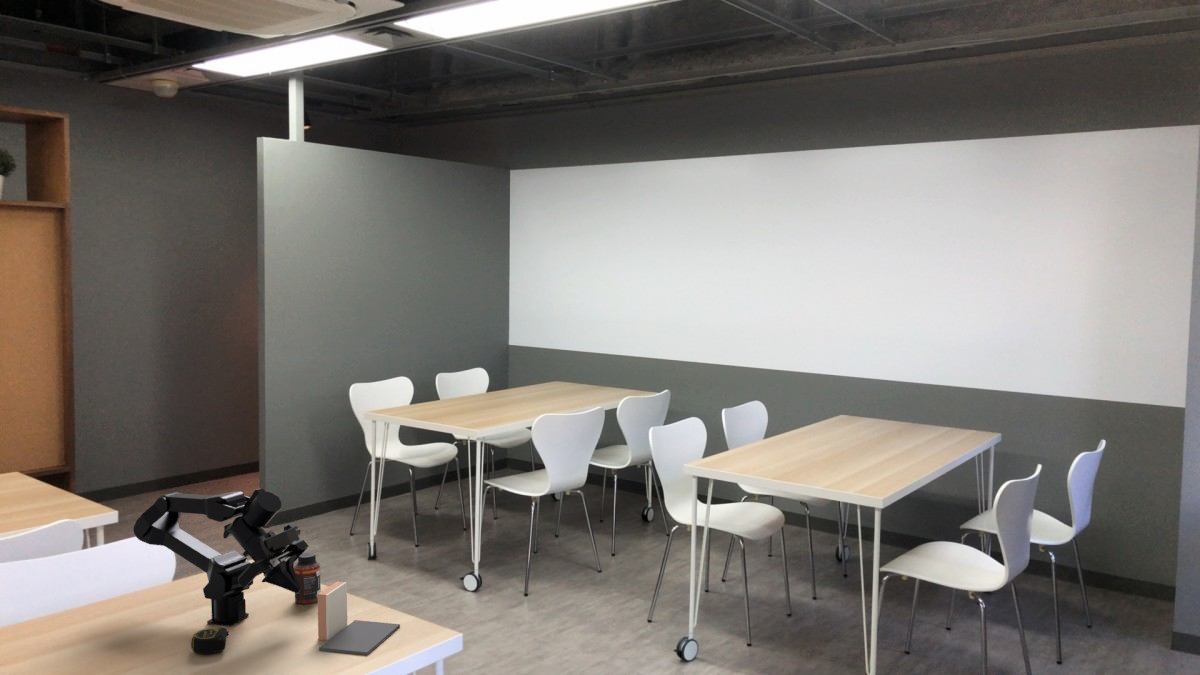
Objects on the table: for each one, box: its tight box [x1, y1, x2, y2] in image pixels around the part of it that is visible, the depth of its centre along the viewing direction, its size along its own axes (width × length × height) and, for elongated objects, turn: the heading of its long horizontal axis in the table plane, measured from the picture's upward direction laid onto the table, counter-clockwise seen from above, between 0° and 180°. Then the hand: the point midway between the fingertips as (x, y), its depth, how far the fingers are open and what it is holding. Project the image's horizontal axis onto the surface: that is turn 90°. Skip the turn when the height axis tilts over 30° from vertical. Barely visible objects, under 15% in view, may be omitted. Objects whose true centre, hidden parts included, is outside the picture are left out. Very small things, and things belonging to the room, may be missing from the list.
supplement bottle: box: [294, 551, 322, 605], centre depth 205 cm, size 6×6×11 cm
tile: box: [317, 581, 348, 641], centre depth 186 cm, size 2×8×10 cm, turn 167°
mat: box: [318, 619, 401, 656], centre depth 184 cm, size 11×15×1 cm
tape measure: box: [190, 627, 230, 655], centre depth 178 cm, size 7×7×4 cm
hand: (299, 591), depth 187 cm, fingers closed
